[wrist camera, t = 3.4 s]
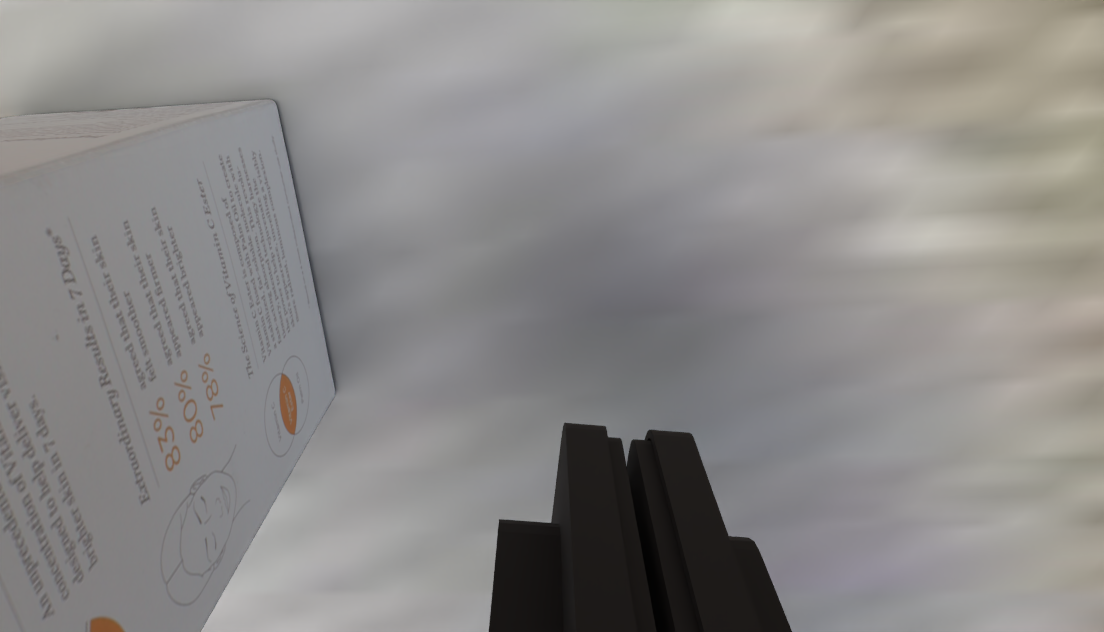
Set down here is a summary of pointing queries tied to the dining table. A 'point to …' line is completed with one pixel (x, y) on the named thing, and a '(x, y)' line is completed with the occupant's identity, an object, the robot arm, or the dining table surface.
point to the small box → (147, 359)
